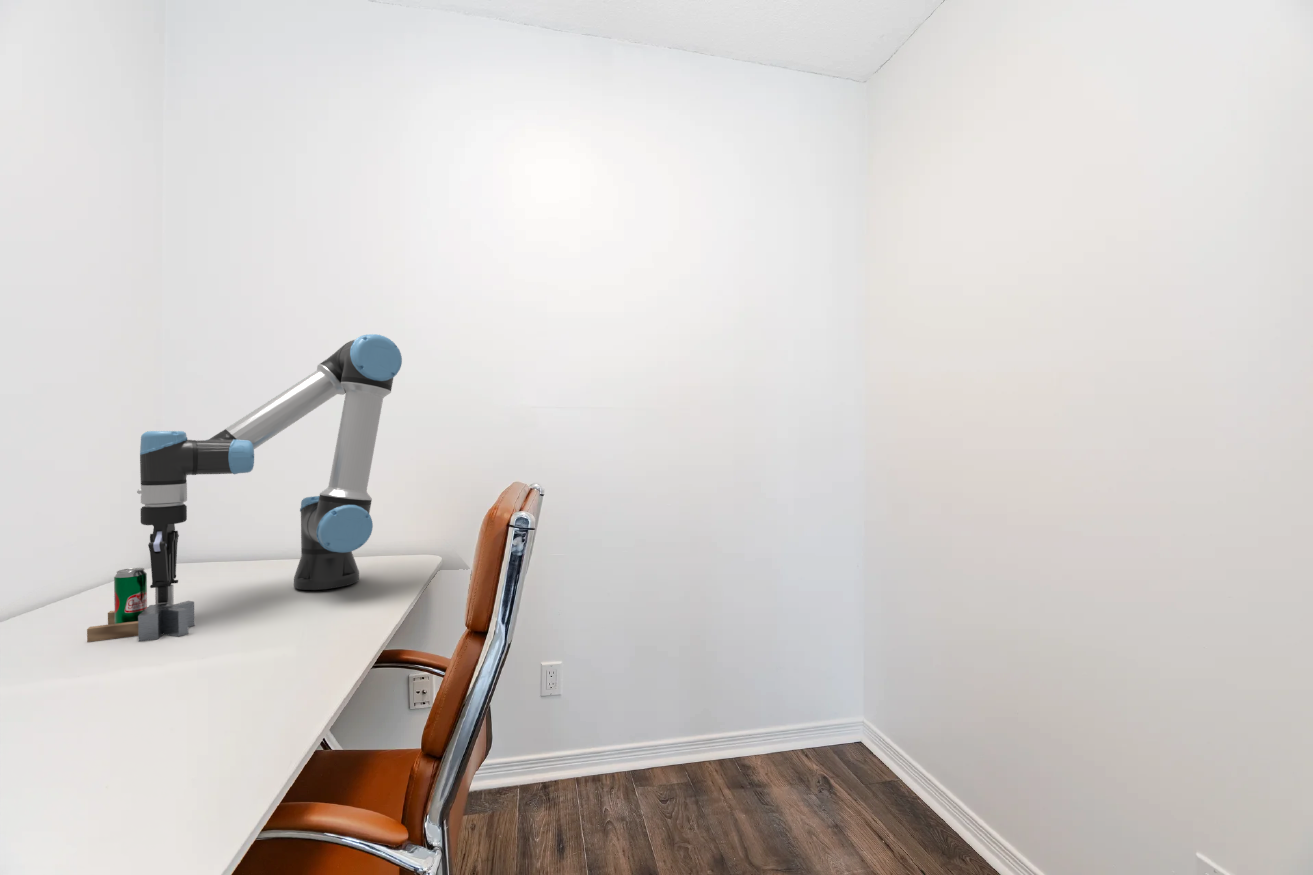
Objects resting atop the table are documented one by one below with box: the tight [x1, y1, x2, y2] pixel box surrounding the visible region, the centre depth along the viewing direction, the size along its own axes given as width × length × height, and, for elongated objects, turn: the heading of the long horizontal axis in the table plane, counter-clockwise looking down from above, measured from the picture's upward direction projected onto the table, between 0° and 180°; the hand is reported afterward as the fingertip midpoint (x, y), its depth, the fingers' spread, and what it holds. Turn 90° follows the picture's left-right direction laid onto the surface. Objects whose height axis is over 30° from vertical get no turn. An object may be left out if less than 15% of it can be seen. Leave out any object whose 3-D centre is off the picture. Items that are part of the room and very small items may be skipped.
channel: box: [86, 610, 138, 643], centre depth 124 cm, size 8×13×2 cm, turn 28°
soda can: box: [113, 567, 148, 624], centre depth 124 cm, size 5×5×12 cm
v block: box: [137, 600, 195, 642], centre depth 121 cm, size 8×8×5 cm
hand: (164, 616), depth 127 cm, fingers closed
